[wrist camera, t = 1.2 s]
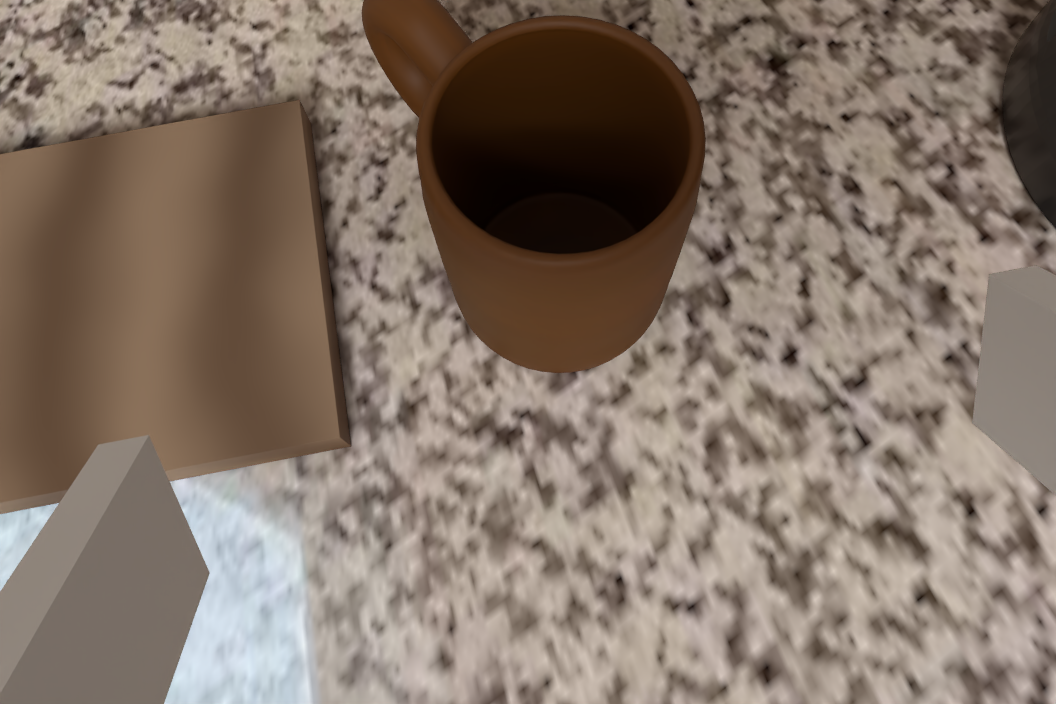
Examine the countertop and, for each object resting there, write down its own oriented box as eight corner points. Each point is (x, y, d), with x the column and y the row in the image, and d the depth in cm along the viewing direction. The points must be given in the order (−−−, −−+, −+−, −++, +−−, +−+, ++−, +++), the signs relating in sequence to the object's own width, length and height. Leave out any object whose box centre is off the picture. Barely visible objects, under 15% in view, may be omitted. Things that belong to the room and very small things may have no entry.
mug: (336, 197, 31) (245, 26, 22) (486, 78, 32) (458, -129, 23) (554, 424, 28) (553, 335, 19) (709, 282, 29) (776, 135, 20)
